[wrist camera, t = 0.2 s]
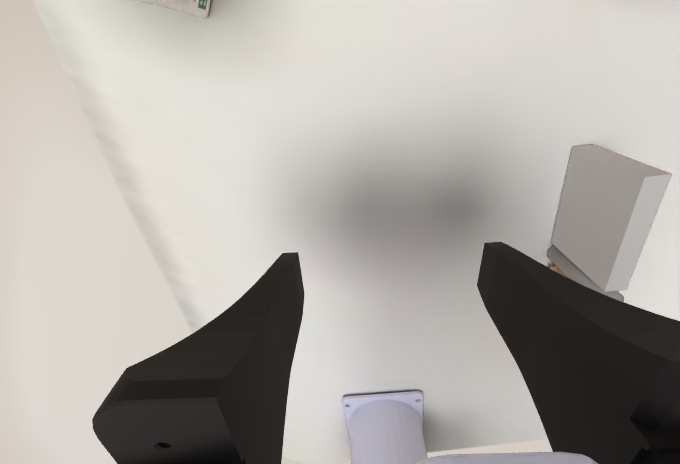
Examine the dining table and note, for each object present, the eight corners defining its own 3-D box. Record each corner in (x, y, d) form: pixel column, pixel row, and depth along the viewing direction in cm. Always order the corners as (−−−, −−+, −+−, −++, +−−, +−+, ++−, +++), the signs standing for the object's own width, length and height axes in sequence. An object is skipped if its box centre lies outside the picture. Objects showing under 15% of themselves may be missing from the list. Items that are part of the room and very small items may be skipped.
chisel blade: (564, 258, 24) (620, 310, 19) (545, 260, 24) (595, 312, 19) (594, 143, 20) (674, 173, 15) (570, 146, 20) (642, 177, 15)
